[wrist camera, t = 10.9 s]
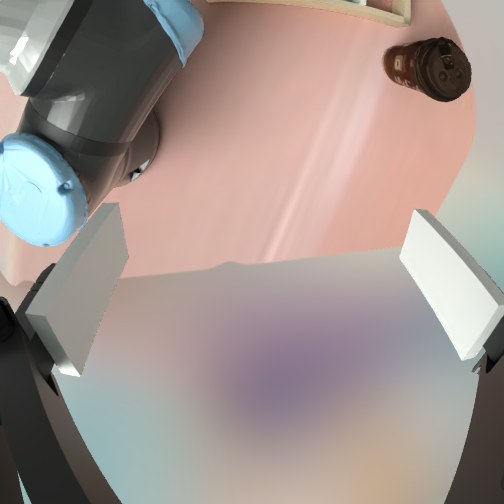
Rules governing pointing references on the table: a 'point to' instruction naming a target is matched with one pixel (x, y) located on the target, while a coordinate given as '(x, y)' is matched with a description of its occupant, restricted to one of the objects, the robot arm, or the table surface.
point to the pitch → (350, 9)
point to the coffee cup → (429, 68)
